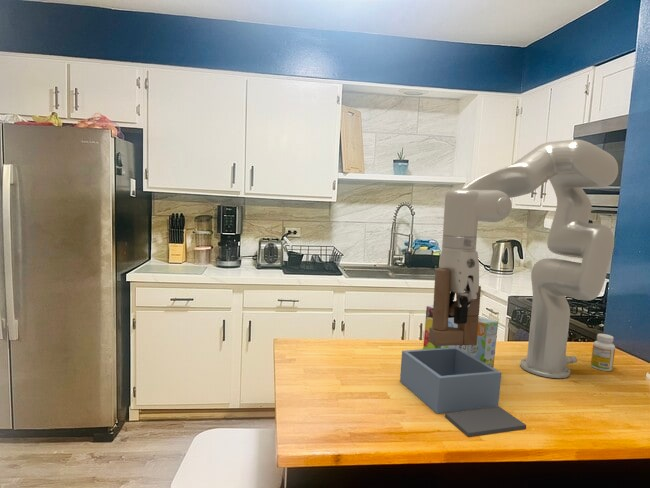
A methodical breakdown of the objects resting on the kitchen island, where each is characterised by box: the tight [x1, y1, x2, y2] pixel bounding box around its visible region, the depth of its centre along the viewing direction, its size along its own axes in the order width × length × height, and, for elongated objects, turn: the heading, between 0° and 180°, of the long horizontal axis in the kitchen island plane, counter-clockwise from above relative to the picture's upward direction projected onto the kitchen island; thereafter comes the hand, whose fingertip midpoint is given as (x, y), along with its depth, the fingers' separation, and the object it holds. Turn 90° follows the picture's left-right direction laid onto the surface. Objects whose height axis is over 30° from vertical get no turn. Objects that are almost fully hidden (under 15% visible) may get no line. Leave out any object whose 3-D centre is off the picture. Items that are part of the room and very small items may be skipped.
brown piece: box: [429, 267, 482, 346], centre depth 102 cm, size 4×11×18 cm, turn 100°
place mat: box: [444, 406, 527, 438], centre depth 90 cm, size 14×8×1 cm, turn 108°
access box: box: [399, 347, 502, 415], centre depth 103 cm, size 16×17×8 cm
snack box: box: [422, 304, 499, 369], centre depth 123 cm, size 21×6×15 cm, turn 34°
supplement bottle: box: [590, 333, 616, 372], centre depth 125 cm, size 5×5×10 cm
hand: (454, 319), depth 102 cm, fingers closed on brown piece, 4 cm apart
